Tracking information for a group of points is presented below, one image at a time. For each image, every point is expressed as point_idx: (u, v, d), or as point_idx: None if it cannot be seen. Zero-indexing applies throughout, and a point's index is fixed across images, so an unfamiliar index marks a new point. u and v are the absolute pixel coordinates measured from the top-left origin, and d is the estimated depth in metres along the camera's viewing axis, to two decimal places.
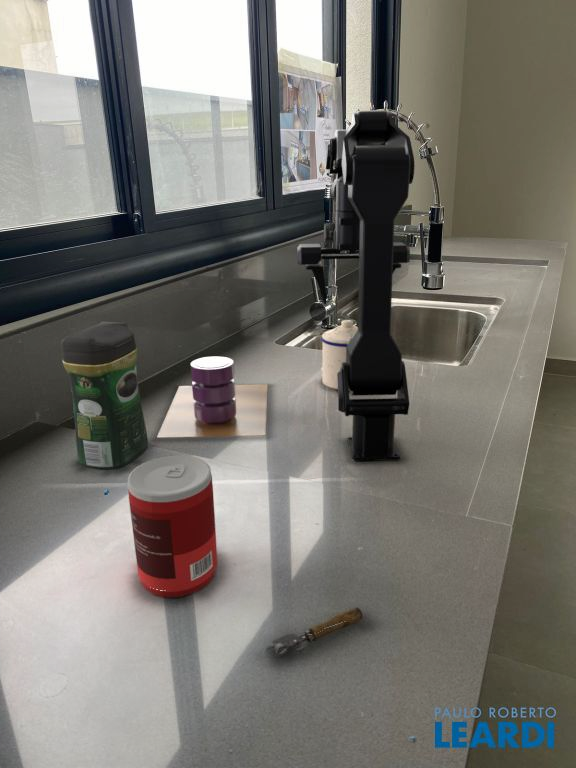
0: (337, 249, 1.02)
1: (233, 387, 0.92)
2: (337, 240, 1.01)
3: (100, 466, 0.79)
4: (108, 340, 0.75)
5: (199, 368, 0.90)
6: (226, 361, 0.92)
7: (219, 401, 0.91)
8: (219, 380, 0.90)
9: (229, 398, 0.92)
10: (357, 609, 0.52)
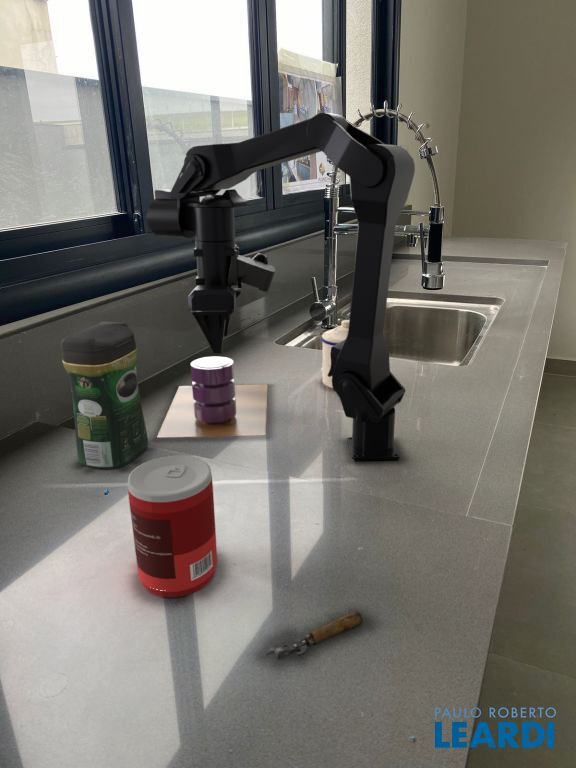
0: None
1: (233, 387, 0.92)
2: None
3: (100, 466, 0.79)
4: (108, 340, 0.75)
5: (199, 368, 0.90)
6: (226, 361, 0.92)
7: (219, 401, 0.91)
8: (219, 380, 0.90)
9: (229, 398, 0.92)
10: (357, 613, 0.53)
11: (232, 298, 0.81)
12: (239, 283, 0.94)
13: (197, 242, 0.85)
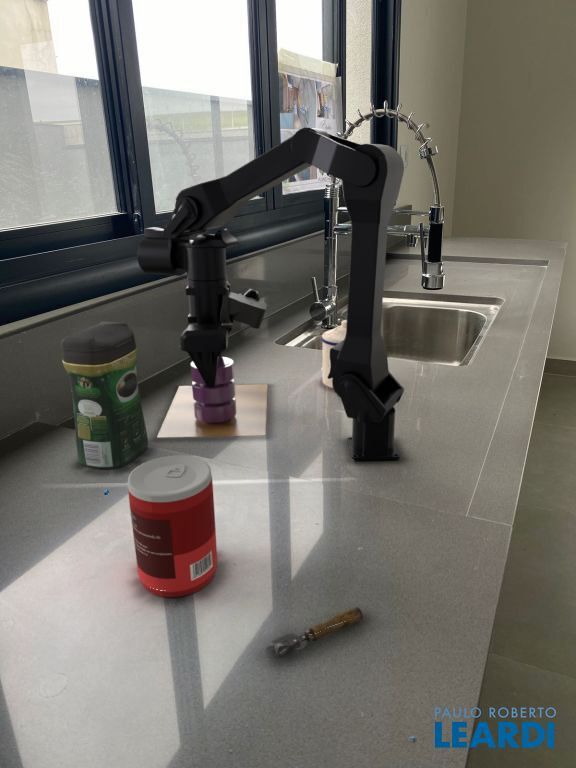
0: None
1: (233, 387, 0.92)
2: None
3: (100, 466, 0.79)
4: (108, 340, 0.75)
5: None
6: (226, 361, 0.92)
7: (219, 401, 0.91)
8: (219, 380, 0.90)
9: (229, 398, 0.92)
10: (357, 609, 0.52)
11: (224, 338, 0.81)
12: (231, 318, 0.95)
13: (189, 281, 0.86)
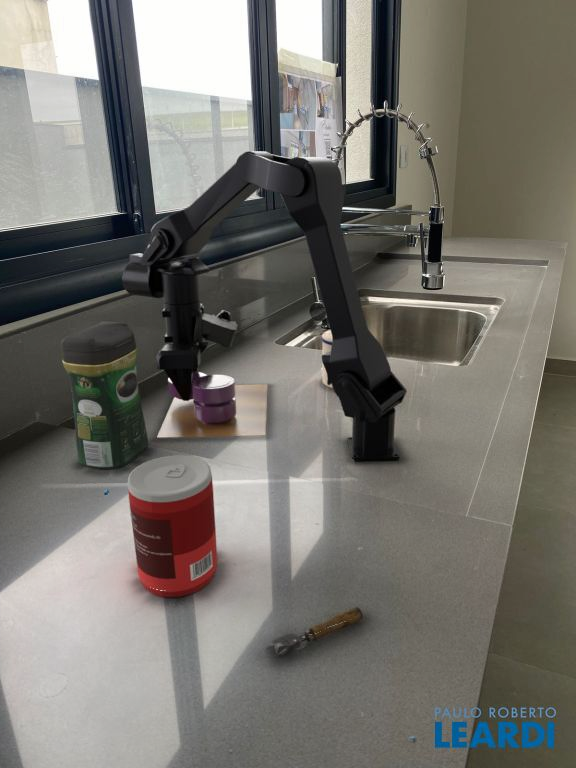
0: None
1: (233, 387, 0.92)
2: None
3: (100, 466, 0.79)
4: (108, 340, 0.75)
5: None
6: (201, 376, 1.00)
7: (219, 401, 0.91)
8: None
9: (229, 398, 0.92)
10: (357, 609, 0.52)
11: (196, 357, 0.90)
12: None
13: (165, 304, 0.94)
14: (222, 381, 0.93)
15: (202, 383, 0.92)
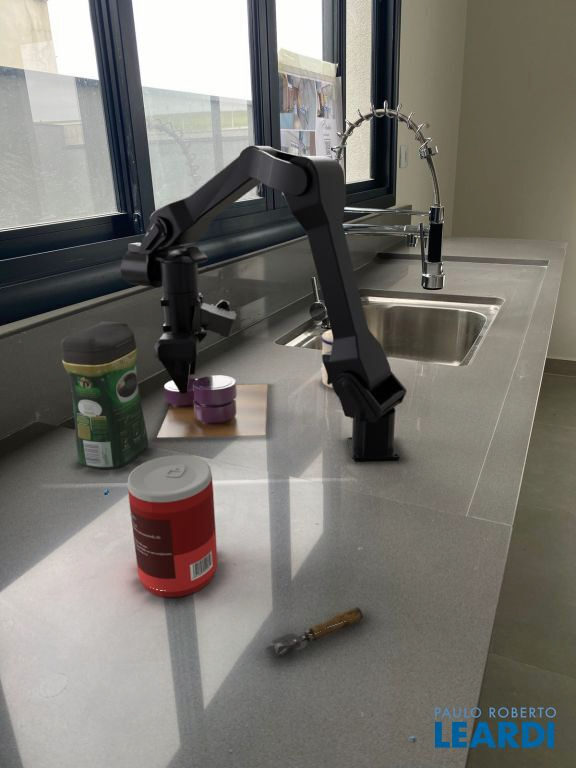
0: None
1: (235, 387, 0.92)
2: None
3: (100, 466, 0.79)
4: (108, 340, 0.75)
5: (171, 390, 0.98)
6: None
7: (222, 401, 0.91)
8: (190, 401, 0.99)
9: (232, 398, 0.92)
10: (357, 609, 0.52)
11: (194, 346, 0.89)
12: None
13: (164, 293, 0.94)
14: (223, 381, 0.93)
15: (204, 384, 0.92)
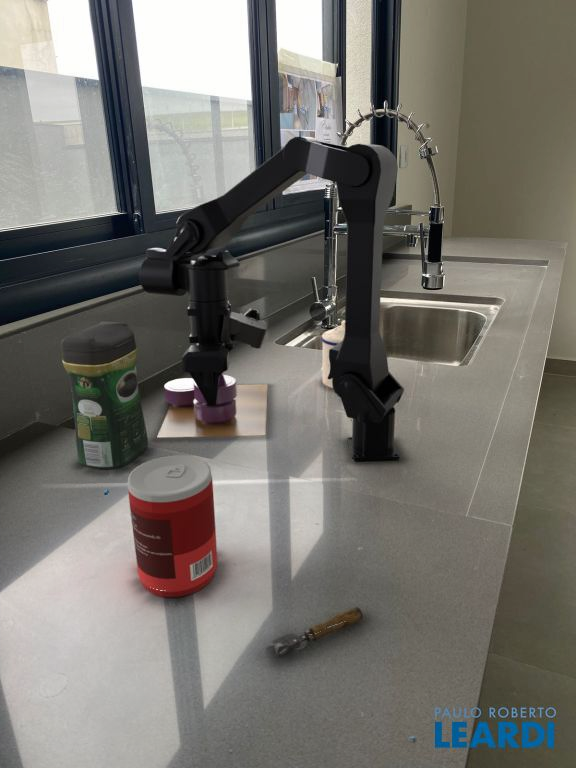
0: None
1: (235, 386, 0.93)
2: None
3: (100, 466, 0.79)
4: (108, 340, 0.75)
5: (171, 390, 0.98)
6: None
7: (223, 401, 0.91)
8: (190, 401, 0.99)
9: (232, 397, 0.92)
10: (357, 609, 0.52)
11: (225, 359, 0.82)
12: None
13: (190, 301, 0.87)
14: (223, 381, 0.93)
15: None
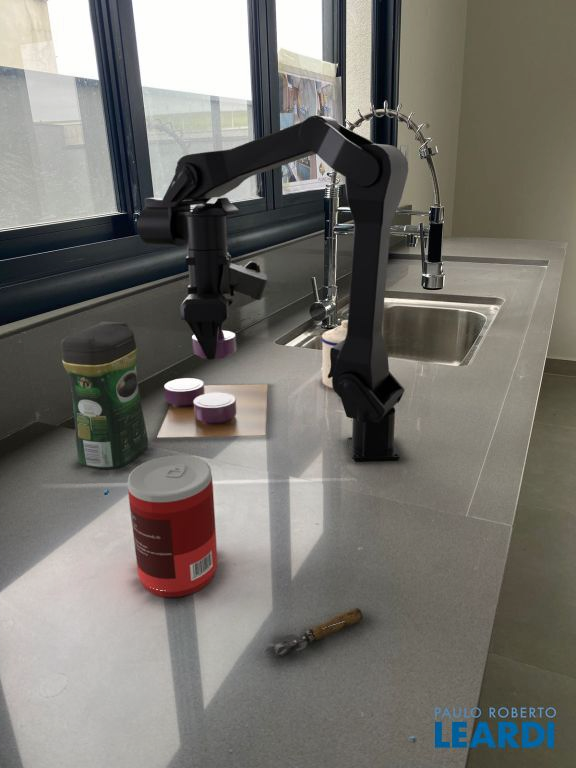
0: None
1: (235, 340, 0.91)
2: None
3: (100, 466, 0.79)
4: (108, 340, 0.75)
5: (171, 390, 0.98)
6: (197, 383, 1.01)
7: (222, 354, 0.89)
8: (190, 401, 0.99)
9: (231, 351, 0.90)
10: (357, 610, 0.52)
11: (225, 307, 0.80)
12: (231, 291, 0.94)
13: (189, 251, 0.85)
14: (222, 335, 0.91)
15: None
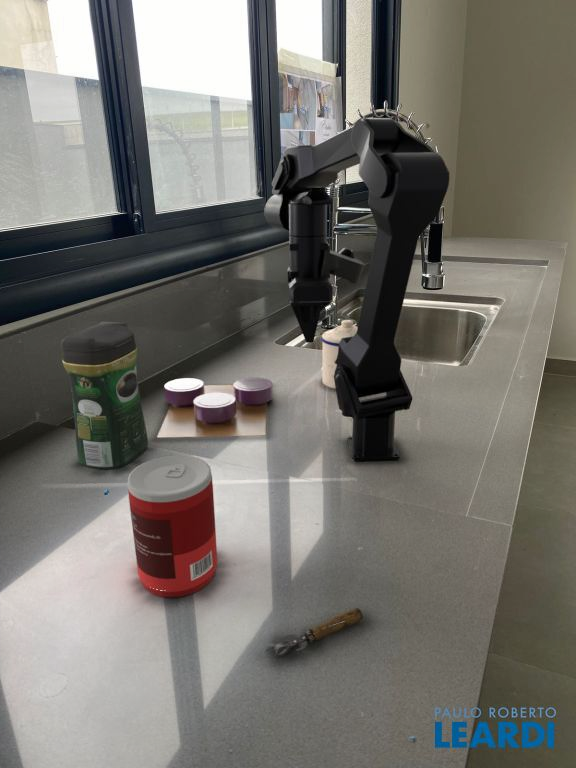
0: None
1: (272, 388, 1.00)
2: None
3: (100, 466, 0.79)
4: (108, 340, 0.75)
5: (171, 390, 0.98)
6: (197, 383, 1.01)
7: (261, 402, 0.99)
8: (190, 401, 0.99)
9: (269, 399, 1.00)
10: (357, 610, 0.52)
11: (331, 289, 0.86)
12: None
13: (292, 237, 0.90)
14: (261, 383, 1.01)
15: (244, 386, 1.00)
